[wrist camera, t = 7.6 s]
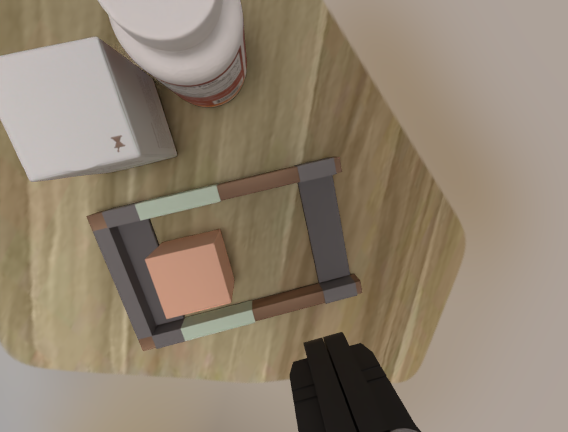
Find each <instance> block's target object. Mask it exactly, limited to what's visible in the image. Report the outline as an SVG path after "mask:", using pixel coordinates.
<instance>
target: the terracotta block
mask: <svg viewBox="0 0 568 432" xmlns="http://www.w3.org/2000/svg"><path fill="white" fill-rule="evenodd" d="M145 262H146V264H147V267H148V270H149V273H150V275H151V278H152V281H153V283H154V286H155V289H156V292H157V294H158V297H159V300H160V303H161V305H162V308H163V311H164V314H165V316H166V319H169V318H173V317H177V316H181V315H185V314H189V313H193V312H197V311H201V310H205V309H209V308H213V307H217V306H221V305H225V304H229V303H231V301H232V295H233V288H234V281H235V280H234V276H233V273H232V269H231V265H230V262H229V258H228V255H227V251H226V248H225V244H224V241H223V237H222V233H221V230H220V229H218V230H213V231H209V232H205V233H200V234H196V235H192V236H187V237H183V238H179V239H174V240H170V241H166V242H162V243H161V244H160V245H159V246H158V247H157V248H156V249H155V250H154V251H153V252H152V253H151V254H150V255H149V256H148V257H147V258H146V259H145Z"/></svg>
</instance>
